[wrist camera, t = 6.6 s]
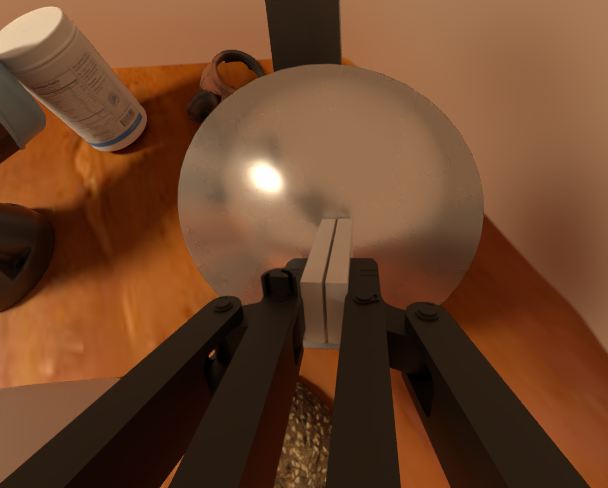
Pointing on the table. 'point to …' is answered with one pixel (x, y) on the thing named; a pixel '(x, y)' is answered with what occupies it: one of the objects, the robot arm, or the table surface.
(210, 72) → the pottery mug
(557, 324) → the table surface
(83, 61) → the supplement tub
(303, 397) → the speckled stone
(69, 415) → the milk bottle
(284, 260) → the lid
